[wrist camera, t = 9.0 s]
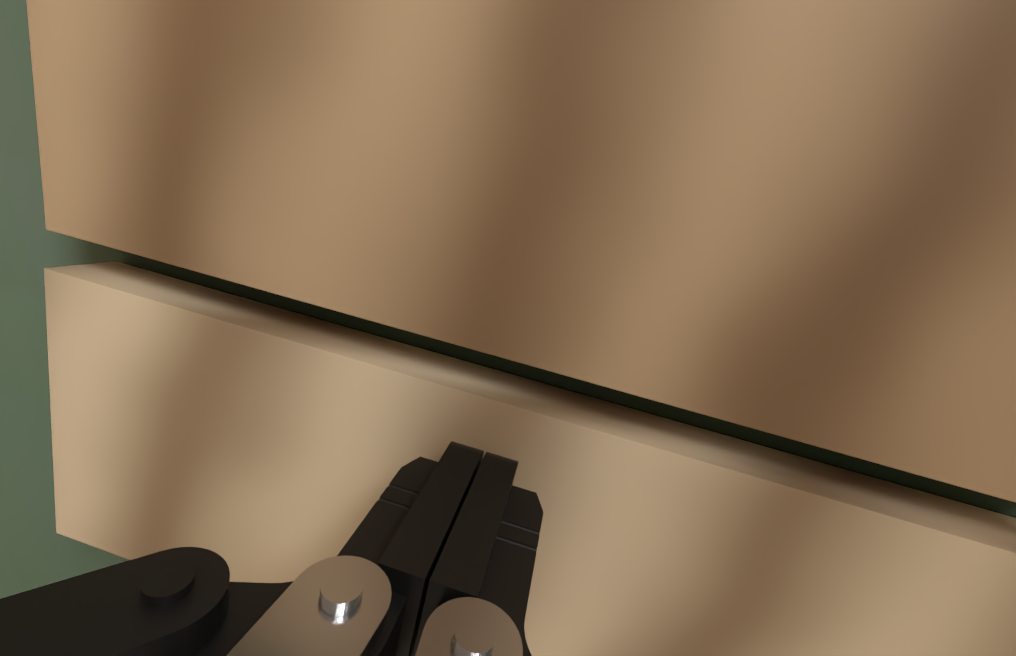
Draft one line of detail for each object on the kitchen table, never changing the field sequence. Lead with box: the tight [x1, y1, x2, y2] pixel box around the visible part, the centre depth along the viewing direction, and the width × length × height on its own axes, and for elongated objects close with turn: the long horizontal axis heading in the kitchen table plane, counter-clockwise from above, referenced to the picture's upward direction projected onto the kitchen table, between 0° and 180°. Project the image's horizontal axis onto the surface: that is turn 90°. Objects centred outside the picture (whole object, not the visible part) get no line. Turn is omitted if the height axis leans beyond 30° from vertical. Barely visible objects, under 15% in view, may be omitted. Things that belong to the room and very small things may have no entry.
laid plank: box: [27, 0, 1016, 502], centre depth 10 cm, size 24×8×2 cm, turn 77°
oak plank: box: [44, 261, 1016, 656], centre depth 12 cm, size 24×8×2 cm, turn 77°
